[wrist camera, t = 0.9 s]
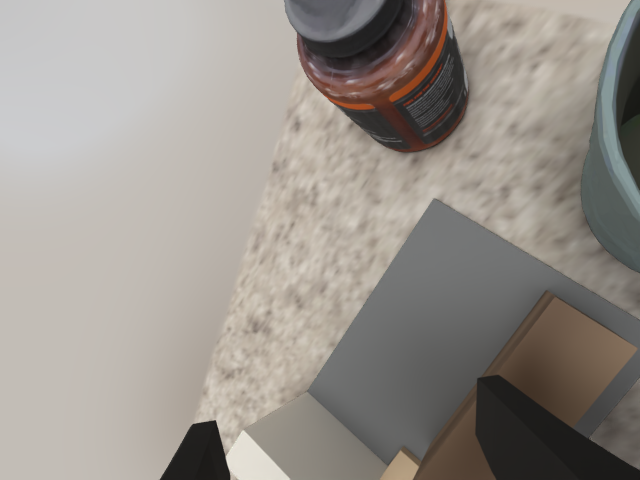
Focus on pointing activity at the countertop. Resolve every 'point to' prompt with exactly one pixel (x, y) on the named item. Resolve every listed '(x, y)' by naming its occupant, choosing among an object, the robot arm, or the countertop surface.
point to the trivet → (402, 466)
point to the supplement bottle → (385, 65)
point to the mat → (447, 334)
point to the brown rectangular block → (534, 381)
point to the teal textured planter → (617, 146)
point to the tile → (302, 447)
